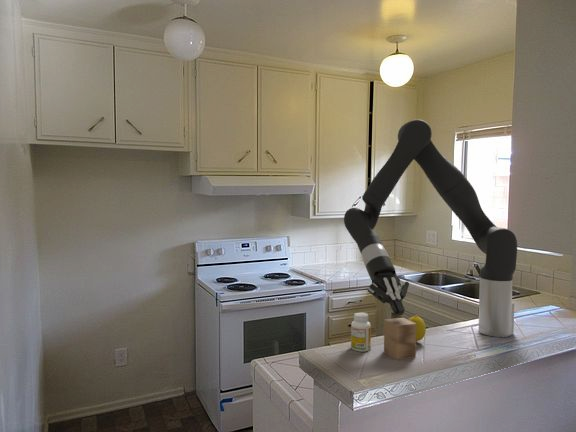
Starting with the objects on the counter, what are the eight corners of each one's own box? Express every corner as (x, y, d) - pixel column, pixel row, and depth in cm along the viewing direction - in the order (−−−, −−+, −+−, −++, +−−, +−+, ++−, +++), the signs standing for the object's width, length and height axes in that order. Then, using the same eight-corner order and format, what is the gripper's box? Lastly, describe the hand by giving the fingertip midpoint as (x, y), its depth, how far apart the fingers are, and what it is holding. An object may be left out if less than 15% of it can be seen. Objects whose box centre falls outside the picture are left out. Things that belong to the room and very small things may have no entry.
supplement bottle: (361, 344, 123) (362, 310, 123) (374, 350, 119) (375, 315, 118) (347, 347, 121) (347, 313, 120) (359, 353, 116) (359, 318, 116)
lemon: (403, 339, 128) (403, 312, 127) (421, 339, 128) (421, 312, 128) (409, 345, 122) (410, 318, 122) (428, 345, 123) (429, 317, 122)
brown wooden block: (402, 349, 119) (403, 317, 119) (415, 357, 114) (416, 323, 113) (383, 351, 117) (384, 319, 117) (396, 359, 112) (396, 325, 111)
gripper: (361, 255, 121) (384, 309, 110) (402, 253, 126) (427, 304, 114) (353, 271, 127) (373, 323, 116) (392, 268, 131) (415, 319, 120)
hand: (400, 314), depth 115 cm, fingers closed
